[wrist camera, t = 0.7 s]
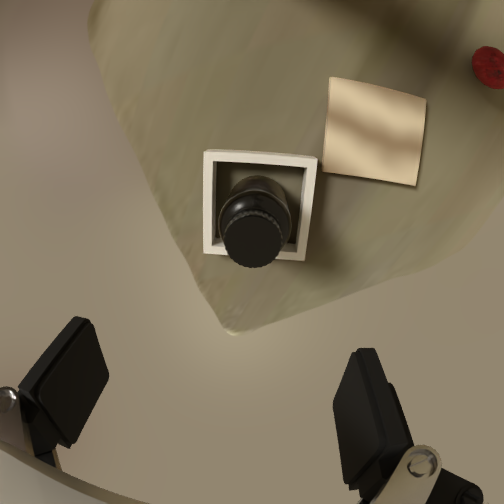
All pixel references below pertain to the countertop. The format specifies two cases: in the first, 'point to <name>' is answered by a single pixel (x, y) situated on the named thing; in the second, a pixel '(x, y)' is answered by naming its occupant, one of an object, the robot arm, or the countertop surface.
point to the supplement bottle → (255, 221)
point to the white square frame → (308, 162)
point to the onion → (489, 66)
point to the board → (373, 132)
